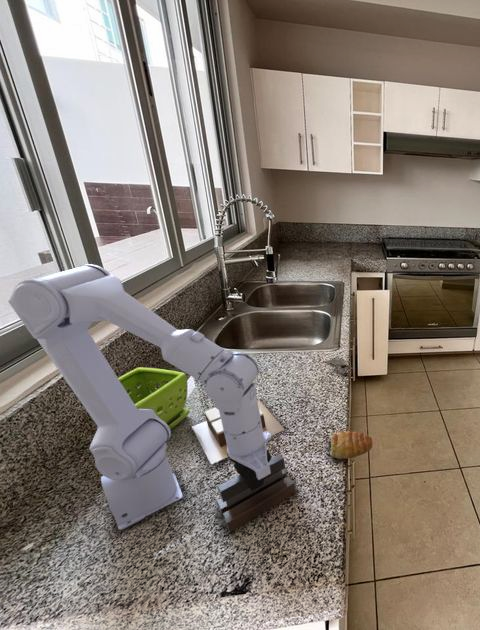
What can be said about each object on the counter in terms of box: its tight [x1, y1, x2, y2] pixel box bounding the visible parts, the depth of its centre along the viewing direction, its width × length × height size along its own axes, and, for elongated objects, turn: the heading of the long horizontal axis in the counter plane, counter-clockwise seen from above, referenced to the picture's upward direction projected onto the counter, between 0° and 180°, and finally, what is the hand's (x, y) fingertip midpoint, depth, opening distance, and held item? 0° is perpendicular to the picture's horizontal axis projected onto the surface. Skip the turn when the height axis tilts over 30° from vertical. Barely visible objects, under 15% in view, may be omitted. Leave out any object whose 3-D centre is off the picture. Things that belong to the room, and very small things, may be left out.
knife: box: [217, 453, 286, 510], centre depth 63 cm, size 11×2×8 cm, turn 134°
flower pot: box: [117, 366, 191, 431], centre depth 80 cm, size 14×14×13 cm
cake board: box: [191, 399, 286, 466], centre depth 82 cm, size 16×16×1 cm
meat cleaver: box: [328, 357, 348, 376], centre depth 110 cm, size 12×1×5 cm
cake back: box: [203, 406, 221, 435], centre depth 84 cm, size 10×5×4 cm, turn 134°
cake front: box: [211, 409, 266, 447], centre depth 80 cm, size 10×5×4 cm, turn 134°
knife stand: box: [216, 469, 297, 534], centre depth 64 cm, size 12×6×2 cm, turn 134°
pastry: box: [329, 430, 373, 460], centre depth 77 cm, size 9×7×4 cm
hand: (254, 483), depth 63 cm, fingers closed on knife, 2 cm apart
